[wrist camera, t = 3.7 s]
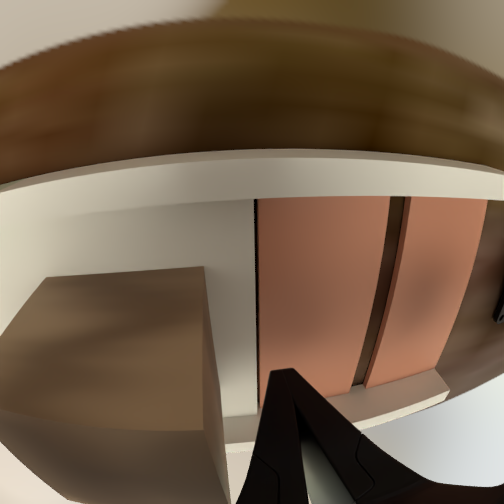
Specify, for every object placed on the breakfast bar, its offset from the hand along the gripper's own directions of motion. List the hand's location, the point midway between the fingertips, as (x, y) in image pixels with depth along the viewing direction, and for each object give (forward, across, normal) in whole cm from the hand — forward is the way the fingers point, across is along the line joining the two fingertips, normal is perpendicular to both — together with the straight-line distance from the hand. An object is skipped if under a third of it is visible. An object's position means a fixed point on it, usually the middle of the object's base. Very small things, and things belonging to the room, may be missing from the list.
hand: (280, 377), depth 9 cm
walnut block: (+2, +5, 0) cm, 6 cm away
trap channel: (+3, +3, 0) cm, 5 cm away
